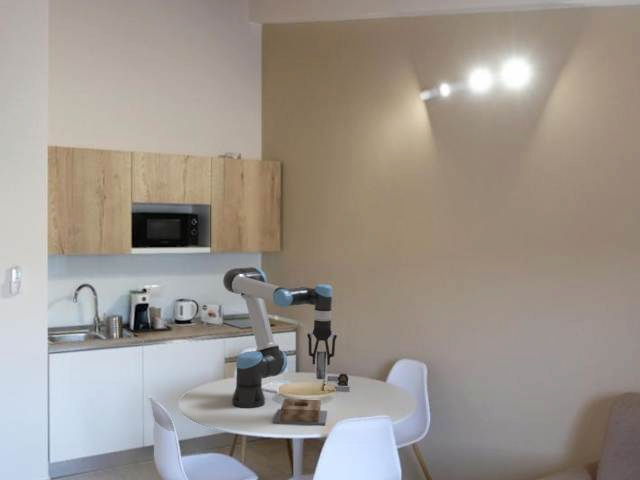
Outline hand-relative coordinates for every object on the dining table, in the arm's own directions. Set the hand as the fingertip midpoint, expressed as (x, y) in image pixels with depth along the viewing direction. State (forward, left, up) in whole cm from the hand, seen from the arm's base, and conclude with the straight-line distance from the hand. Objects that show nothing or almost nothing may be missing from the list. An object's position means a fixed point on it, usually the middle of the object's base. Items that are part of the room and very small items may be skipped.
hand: (320, 371), depth 301 cm
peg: (0, 0, -3) cm, 3 cm away
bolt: (+9, +49, -19) cm, 53 cm away
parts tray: (+6, +50, -18) cm, 53 cm away
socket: (-8, -9, -18) cm, 22 cm away
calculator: (-24, +42, -19) cm, 52 cm away
